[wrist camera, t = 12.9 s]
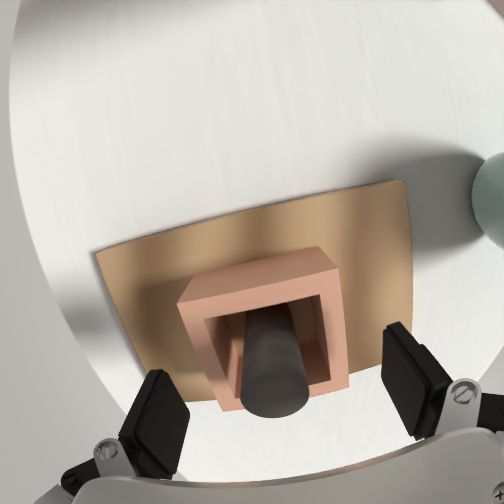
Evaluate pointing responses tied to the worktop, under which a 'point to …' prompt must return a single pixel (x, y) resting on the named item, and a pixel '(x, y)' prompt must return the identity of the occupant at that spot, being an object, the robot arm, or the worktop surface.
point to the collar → (261, 295)
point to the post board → (260, 236)
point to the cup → (490, 198)
